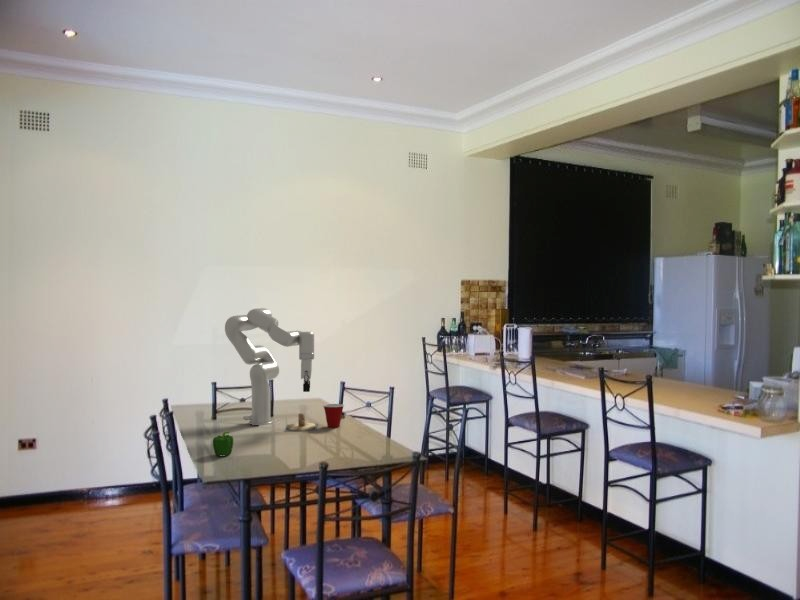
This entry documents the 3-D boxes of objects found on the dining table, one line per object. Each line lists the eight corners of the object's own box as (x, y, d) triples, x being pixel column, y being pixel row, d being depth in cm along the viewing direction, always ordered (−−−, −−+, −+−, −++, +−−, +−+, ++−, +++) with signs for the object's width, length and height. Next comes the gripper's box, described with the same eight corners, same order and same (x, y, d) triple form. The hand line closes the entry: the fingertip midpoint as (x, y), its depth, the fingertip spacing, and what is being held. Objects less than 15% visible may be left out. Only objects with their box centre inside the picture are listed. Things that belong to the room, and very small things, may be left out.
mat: (284, 433, 295) (284, 431, 295) (287, 425, 311) (287, 424, 311) (317, 432, 297) (317, 431, 297) (318, 425, 313) (318, 423, 313)
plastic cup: (346, 425, 312) (346, 402, 311) (342, 430, 301) (342, 406, 301) (325, 425, 313) (325, 402, 312) (320, 430, 302) (320, 406, 302)
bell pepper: (212, 458, 251) (212, 434, 251) (213, 453, 259) (212, 430, 259) (233, 457, 254) (233, 433, 254) (233, 452, 262) (233, 429, 261)
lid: (286, 431, 296) (286, 417, 296) (288, 425, 310) (288, 411, 310) (315, 430, 298) (315, 416, 298) (316, 424, 312) (316, 410, 312)
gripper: (299, 354, 313) (299, 387, 314) (298, 358, 296) (298, 393, 297) (314, 354, 314) (314, 387, 315) (313, 358, 297) (313, 392, 298)
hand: (306, 390), depth 306 cm, fingers open, 9 cm apart
